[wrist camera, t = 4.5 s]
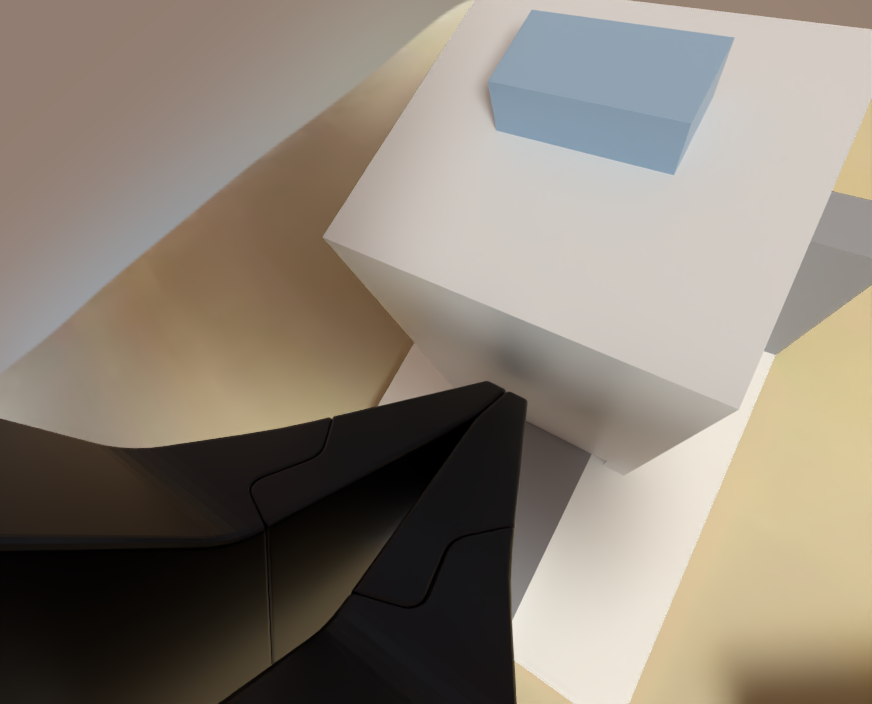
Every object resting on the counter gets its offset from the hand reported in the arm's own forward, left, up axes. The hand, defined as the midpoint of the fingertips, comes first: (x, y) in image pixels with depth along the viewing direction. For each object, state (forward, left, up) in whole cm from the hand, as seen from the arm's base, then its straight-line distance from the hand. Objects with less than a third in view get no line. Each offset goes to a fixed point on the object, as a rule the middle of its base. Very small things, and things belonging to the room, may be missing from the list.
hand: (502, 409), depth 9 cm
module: (+3, 0, -7) cm, 7 cm away
